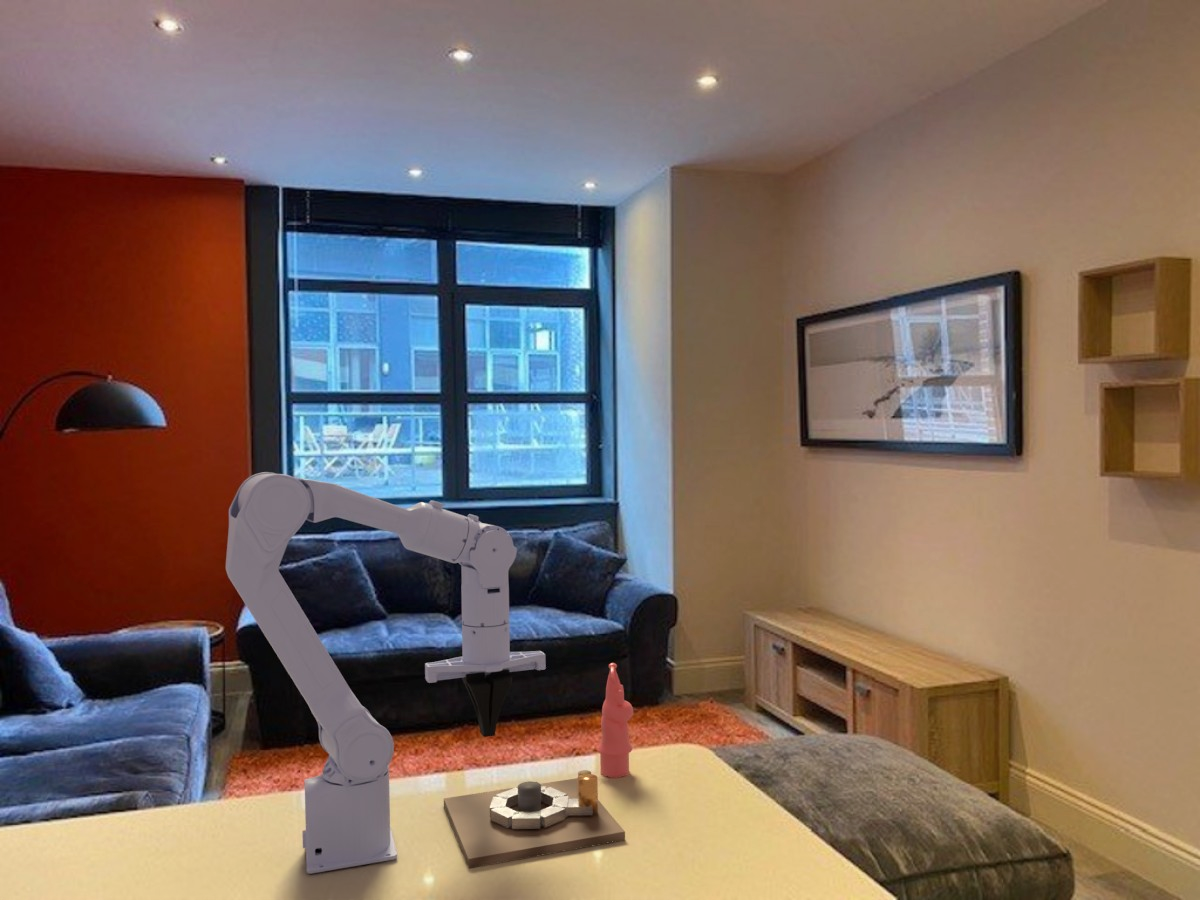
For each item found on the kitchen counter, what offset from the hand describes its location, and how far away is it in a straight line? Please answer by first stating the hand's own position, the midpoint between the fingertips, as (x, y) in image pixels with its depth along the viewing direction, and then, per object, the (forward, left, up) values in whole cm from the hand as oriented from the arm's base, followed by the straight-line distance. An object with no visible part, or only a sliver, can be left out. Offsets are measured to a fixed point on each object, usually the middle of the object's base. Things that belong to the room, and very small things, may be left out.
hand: (487, 734), depth 106 cm
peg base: (+4, -3, -10) cm, 12 cm away
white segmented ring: (+6, -3, -9) cm, 11 cm away
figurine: (+19, +8, -11) cm, 24 cm away
